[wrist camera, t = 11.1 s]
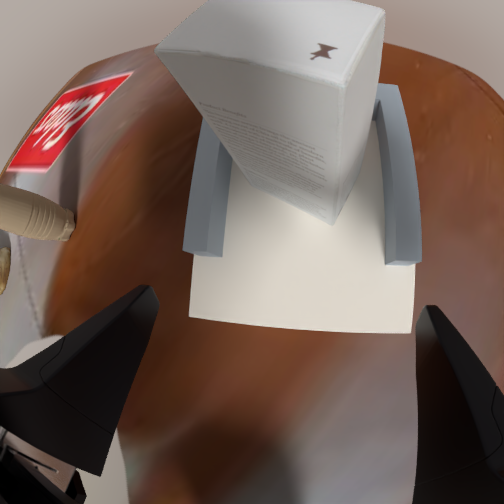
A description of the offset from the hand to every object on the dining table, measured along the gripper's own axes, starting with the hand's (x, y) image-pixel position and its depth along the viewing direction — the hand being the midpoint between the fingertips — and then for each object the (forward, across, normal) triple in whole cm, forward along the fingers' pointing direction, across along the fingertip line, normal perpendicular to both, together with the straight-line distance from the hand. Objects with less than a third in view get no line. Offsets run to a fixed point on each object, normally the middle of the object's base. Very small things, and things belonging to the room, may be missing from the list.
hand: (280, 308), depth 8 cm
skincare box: (+11, 0, 0) cm, 11 cm away
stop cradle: (+11, 0, +2) cm, 11 cm away
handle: (+10, +23, +3) cm, 25 cm away
